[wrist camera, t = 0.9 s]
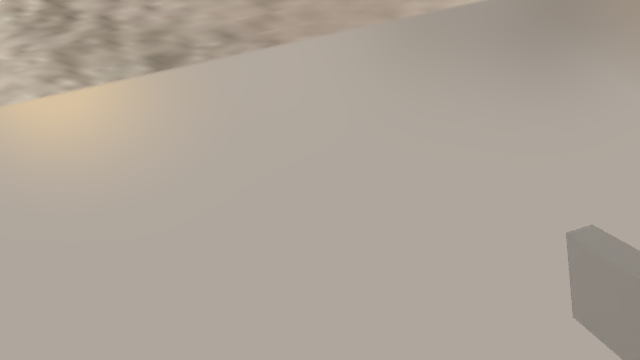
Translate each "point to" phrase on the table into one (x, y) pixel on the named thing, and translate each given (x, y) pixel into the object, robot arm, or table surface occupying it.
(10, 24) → the table surface
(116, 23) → the table surface
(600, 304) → the robot arm
